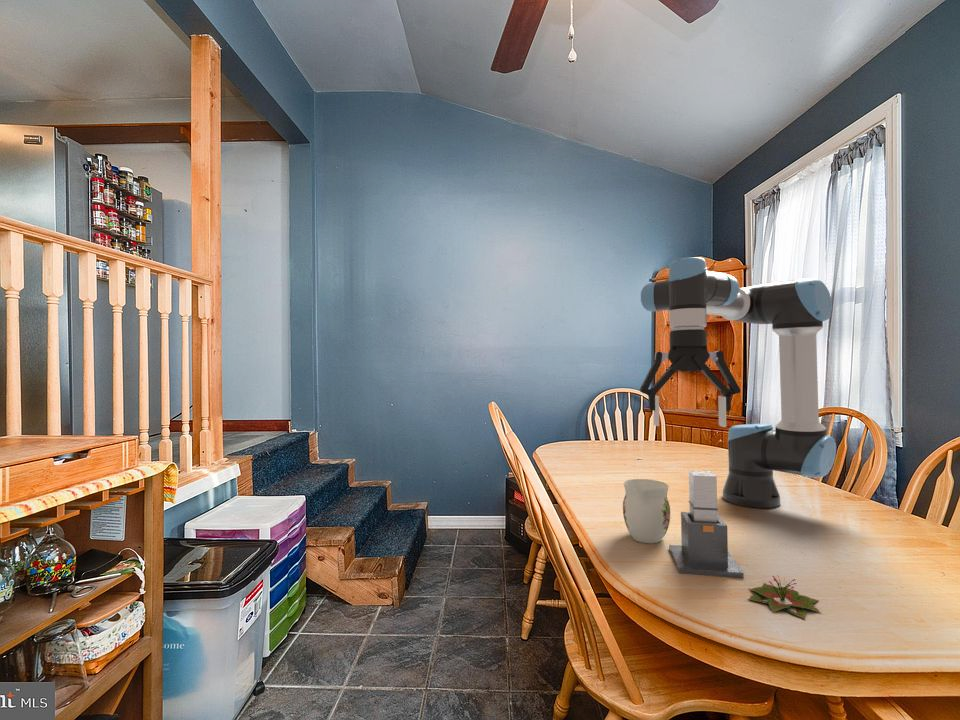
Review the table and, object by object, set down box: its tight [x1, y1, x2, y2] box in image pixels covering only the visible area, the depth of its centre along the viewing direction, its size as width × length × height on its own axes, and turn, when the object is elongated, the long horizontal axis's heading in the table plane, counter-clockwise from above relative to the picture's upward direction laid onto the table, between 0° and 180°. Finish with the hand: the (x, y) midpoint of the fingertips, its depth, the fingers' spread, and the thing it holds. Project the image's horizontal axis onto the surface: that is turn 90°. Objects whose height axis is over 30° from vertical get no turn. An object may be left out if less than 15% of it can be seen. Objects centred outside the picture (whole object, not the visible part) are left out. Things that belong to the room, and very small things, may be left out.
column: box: [688, 470, 719, 524], centre depth 100 cm, size 5×5×18 cm
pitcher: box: [622, 478, 671, 544], centre depth 115 cm, size 11×18×14 cm, turn 155°
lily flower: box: [747, 575, 822, 620], centre depth 84 cm, size 12×12×5 cm
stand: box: [668, 511, 745, 579], centre depth 100 cm, size 12×12×10 cm
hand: (689, 425), depth 103 cm, fingers open, 13 cm apart
